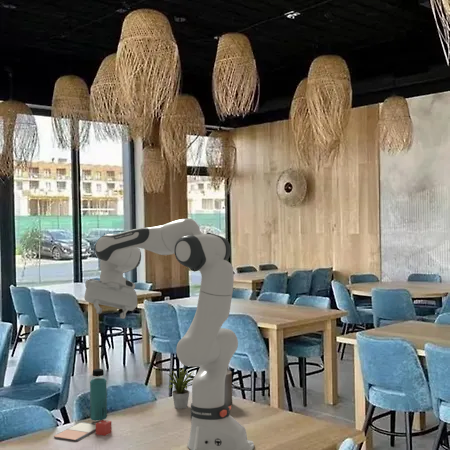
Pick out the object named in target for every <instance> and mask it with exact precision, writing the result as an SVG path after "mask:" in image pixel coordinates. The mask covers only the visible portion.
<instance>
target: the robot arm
mask: <svg viewBox="0 0 450 450" xmlns="http://www.w3.org/2000/svg"><path fill="white" fill-rule="evenodd" d="M229 242H230V241H228V240H227V238H226V237H223V236H221V235H219V234H215V233H212V232H207V233H203V232H201V229H200V226H199V224H198V222H196V221H195V220H193V219H192V218H181V219H177V220H173V221H170V222H167V223H165V224H162V225H157V226H151V227H140V228H134V229H130V230H126V231H123V232H120V233H116V234H115V233H114V234H112V233H107V234H104V235H102V236H100V237H99V238H98V239H97V241H96V243H95V245H94V251H95V254H96V256H97V259H98V260H100V263H99V267H100V269H99V270H100V273H99V280H98V279H93V278H89V279H86V281H85V283H84V284H85V291H84V301H85V302H87V303H91V304H93V307H94V309H95V310H96V312H95V313H96V314H98V315H101V314H102V313H103V308H102V307H101V306H102V305H103V306H106V307H111V308H114V309H115V308H116V309H120V310H122V312H120V314H119V318H120V319H122V320H123V319H125V318H126V316H127V315H126V314H127V312H128V311H129V312H130V311H131V312H133V311H134V310H135V309H136V308H137V306H138V295H137V292H136V290H135V288H136V284H135V282H133V281H131V280H129V279H127V278H125V277H124V273H129V272H131V271H133V270H135V269H136V268H138V267H139V265H140V264H141V261H142V252H141V250H140V249H144V250H146V251H149V252H151V253H155V254H157V255H160V256H161V255H162V256H169V255H174V256H175V259H176V260H177V262H178V263H180V265H182V266H184V267H186V268H188V269H189V270H191V272H198V271H199V273H200V275H201V276H200V277H201V280H200V281H201V282H200V287H199V293H198V300H197V305H196V306H197V307H196V311H195V314H194V316H193V319H192V321H191V323H190V326H189V327H188V329H187V331H186V332H185V334H184V335H183V336H182V337H181V339H179V341H178V342H177V344H176V348H175V349H176V350H175V351H176V356H177V359H178V361H179V362H180V363H181V364H182V365H184V366H185V367H199V369H198V371H197V373H195V376H194V377H193V378H194V379H193V380H191V381H192V383H191V384H192V385H191V403H190V420H191V425H190V432H189V436H188V437H189V438H188V441H187V448H188V449H189V450H254V448H255V445H254V444H255V443H254V441H253V440H250V439H248V435H247V430H246V428H245V426H244V425H242V424H241V423H240V422H238V420H237V419H235V418H234V417H233V416H232V415H231V413H230V411H231V410H232V405H231V406H229V407H228V406H227V405H226V404H225V402H224V395H225V377H226V373H227V370H229V369H228V368H229V366H230V362H231V360H232V358H233V356H234V354H235V353H236V351H237V350H238V346H239V341H238V337H237V334H236V333H235V332H234V331H233V329H229V328H225V327H224V328H223V327H222V326H223V324H224V323H225V322H226V321H227V320H228V318H229V316H230V311H231V304H232V298H233V291H234V282H235V281H234V275H235V274H234V266H233V265H232V264H231V262H229V261H228V259H229V258H230V256H231V252H232V249H231V245H230V243H229ZM100 305H101V306H100Z"/></svg>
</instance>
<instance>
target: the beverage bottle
mask: <svg viewBox="0 0 450 450" xmlns="http://www.w3.org/2000/svg"><path fill="white" fill-rule="evenodd" d="M104 375H105V374H104V369H102V368H95V369H93V370H92V376H93V378H92V379H91V380H90V381H89V391H90V392H89V396H90V397H89V411H90V412H89V417H90V420H92V421H101V420H106V419H107V418H108V399H107V398H108V396H107V395H108V393H107V389H108V388H107V379H106V378H105V377H102V376H104Z"/></svg>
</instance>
